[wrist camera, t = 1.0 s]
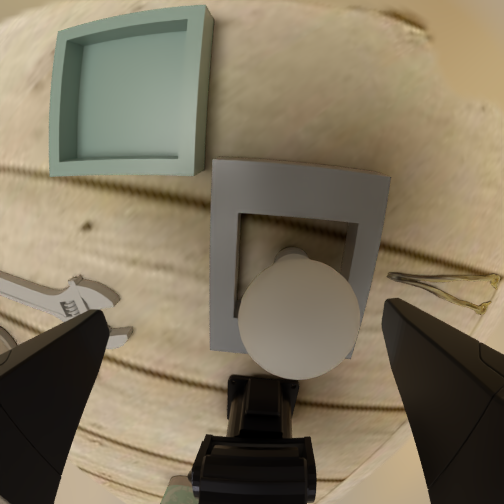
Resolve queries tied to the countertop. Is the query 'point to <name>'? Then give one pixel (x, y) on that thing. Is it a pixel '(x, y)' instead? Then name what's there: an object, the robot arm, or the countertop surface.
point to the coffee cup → (179, 492)
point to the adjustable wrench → (65, 300)
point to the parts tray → (132, 94)
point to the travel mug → (6, 341)
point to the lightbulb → (298, 317)
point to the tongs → (413, 281)
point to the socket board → (291, 205)
